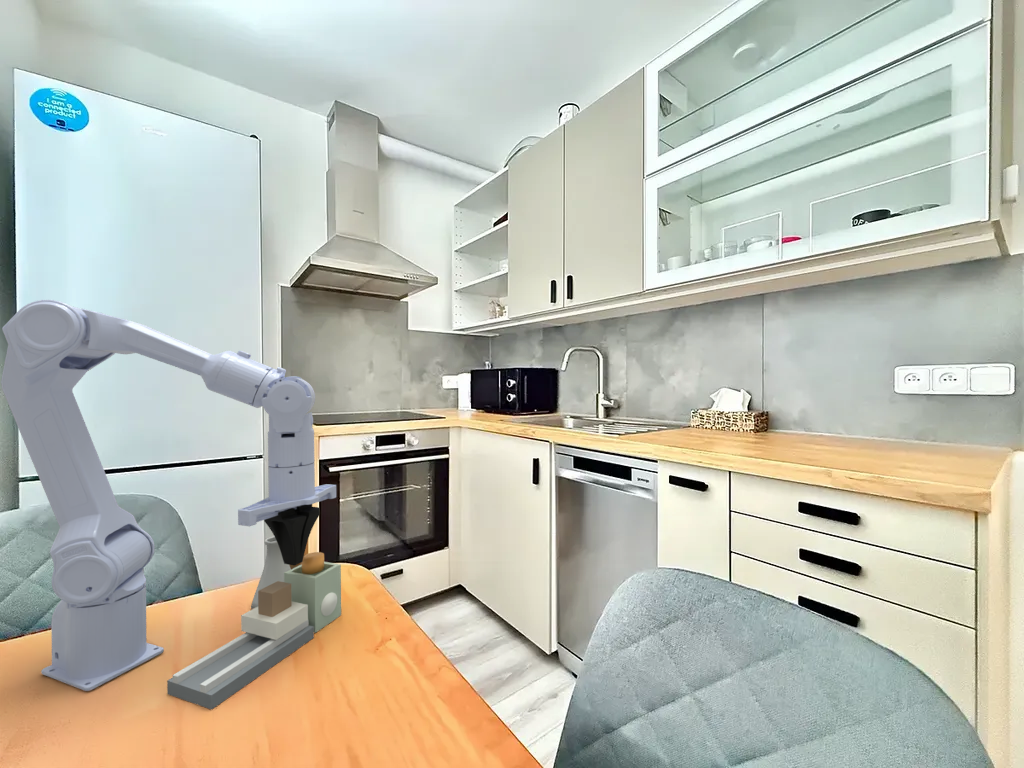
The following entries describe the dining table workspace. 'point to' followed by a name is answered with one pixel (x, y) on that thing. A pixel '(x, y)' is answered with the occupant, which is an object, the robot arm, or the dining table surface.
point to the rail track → (234, 666)
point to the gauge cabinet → (317, 593)
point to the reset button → (313, 563)
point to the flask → (271, 568)
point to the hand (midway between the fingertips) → (293, 562)
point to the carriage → (274, 612)
